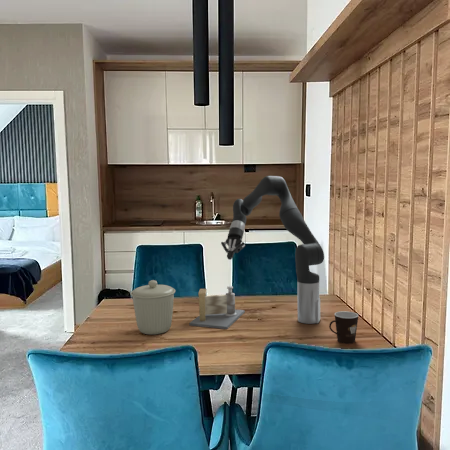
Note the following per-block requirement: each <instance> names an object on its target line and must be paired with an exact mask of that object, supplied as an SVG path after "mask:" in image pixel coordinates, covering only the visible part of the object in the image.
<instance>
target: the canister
mask: <svg viewBox="0 0 450 450" xmlns="http://www.w3.org/2000/svg"><path fill="white" fill-rule="evenodd" d="M175 293H176V289H175V288H174V287H172V286H170V285H167V284H158V282H157V280H156V279H155V280H154V279H152V280H149V281H148V284H146V285H142V286H139V287H136V288H134V289H133V290H132V291H131V292H130V296H131V297H132V303H133V309H134V315H135V321H136V326H137V329H138V331H139V332H140V333H142V334H144V335H160V334H163V333H166V332H168V331H169V330H170V329H171V326H172V322H173V321H172V320H173V313H174V300H175V298H174V296H175V295H174V294H175Z"/></svg>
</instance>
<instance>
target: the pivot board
mask: <svg viewBox="0 0 450 450" xmlns="http://www.w3.org/2000/svg"><path fill="white" fill-rule="evenodd" d="M226 289H228V290H227V293H229V294H231V293H233V289H234V286H231V285H229V286H227V287H226ZM245 312H246V311H245V309H244V310H243V309H236V308H235V313H234V314H227V313H224V314H209V315H206V320H205V321H200V314H199V315H198V316H197V317H195V318H194V319H193V320H191V321H190V322H189V324H188V325H189V326H193V327H203V328H212V329H220V330H221V329H222V330H227V329H229V328H230V327H231V326H232V325H233V324H234V323H235V322H236V321H238V319H239V318H240V317H242V315H243V314H245Z"/></svg>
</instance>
